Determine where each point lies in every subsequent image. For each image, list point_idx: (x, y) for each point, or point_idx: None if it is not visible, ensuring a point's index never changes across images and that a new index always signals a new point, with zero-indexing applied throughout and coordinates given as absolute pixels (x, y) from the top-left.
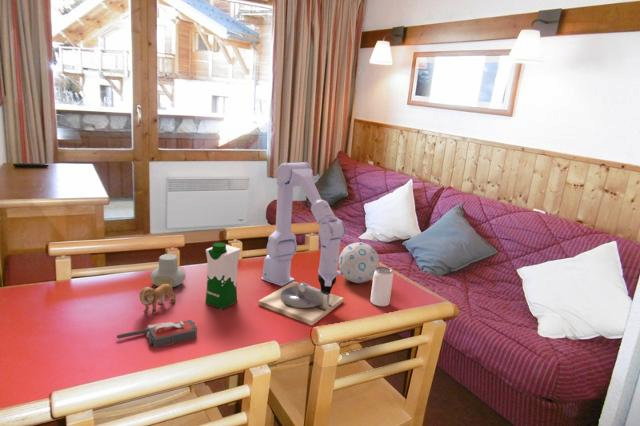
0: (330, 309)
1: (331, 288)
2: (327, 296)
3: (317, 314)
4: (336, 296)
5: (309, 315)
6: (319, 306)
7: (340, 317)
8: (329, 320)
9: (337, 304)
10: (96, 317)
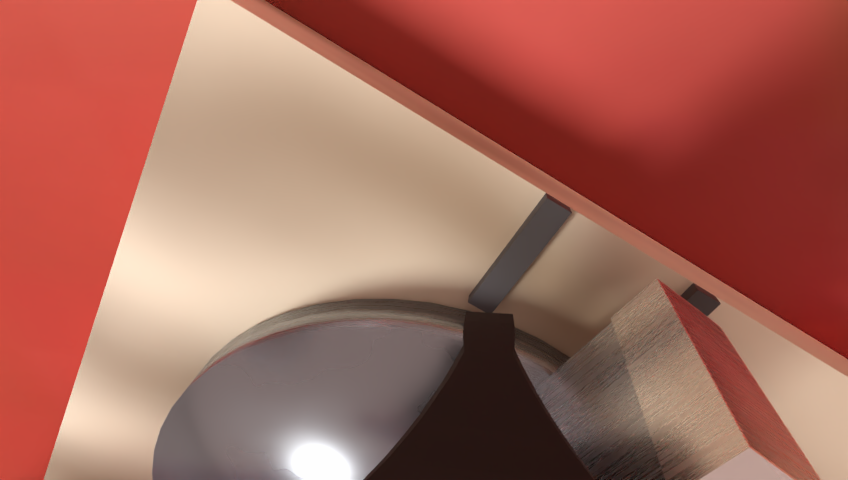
0: (576, 201)
1: (578, 457)
2: (803, 466)
3: (804, 393)
4: (195, 104)
5: (821, 473)
6: (568, 354)
7: (756, 48)
8: (832, 213)
9: (393, 86)
10: None
